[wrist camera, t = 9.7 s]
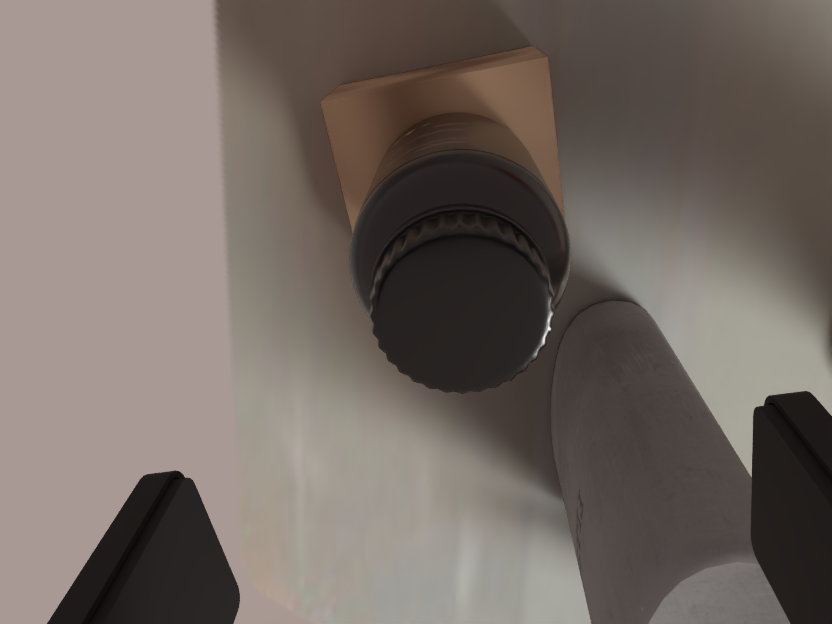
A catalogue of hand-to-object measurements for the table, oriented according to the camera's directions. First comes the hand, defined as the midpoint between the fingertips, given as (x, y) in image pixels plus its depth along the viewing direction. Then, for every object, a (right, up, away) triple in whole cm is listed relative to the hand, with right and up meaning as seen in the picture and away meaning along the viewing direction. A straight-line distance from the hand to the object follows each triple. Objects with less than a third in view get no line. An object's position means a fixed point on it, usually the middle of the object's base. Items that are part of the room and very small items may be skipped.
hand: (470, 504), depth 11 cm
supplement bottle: (+1, +8, +17) cm, 19 cm away
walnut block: (+1, +10, +21) cm, 24 cm away
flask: (+10, -3, +27) cm, 29 cm away
